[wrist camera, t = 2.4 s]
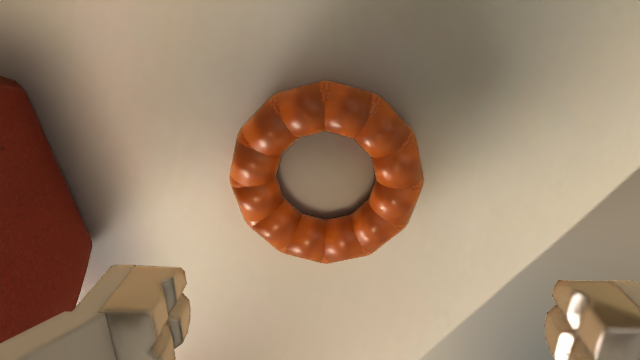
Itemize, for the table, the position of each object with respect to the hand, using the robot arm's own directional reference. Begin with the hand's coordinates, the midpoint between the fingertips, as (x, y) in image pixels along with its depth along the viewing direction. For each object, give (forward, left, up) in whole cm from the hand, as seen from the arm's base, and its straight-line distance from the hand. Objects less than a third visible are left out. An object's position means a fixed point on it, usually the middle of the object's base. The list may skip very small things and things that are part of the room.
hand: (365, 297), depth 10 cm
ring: (+4, +2, -17) cm, 17 cm away
